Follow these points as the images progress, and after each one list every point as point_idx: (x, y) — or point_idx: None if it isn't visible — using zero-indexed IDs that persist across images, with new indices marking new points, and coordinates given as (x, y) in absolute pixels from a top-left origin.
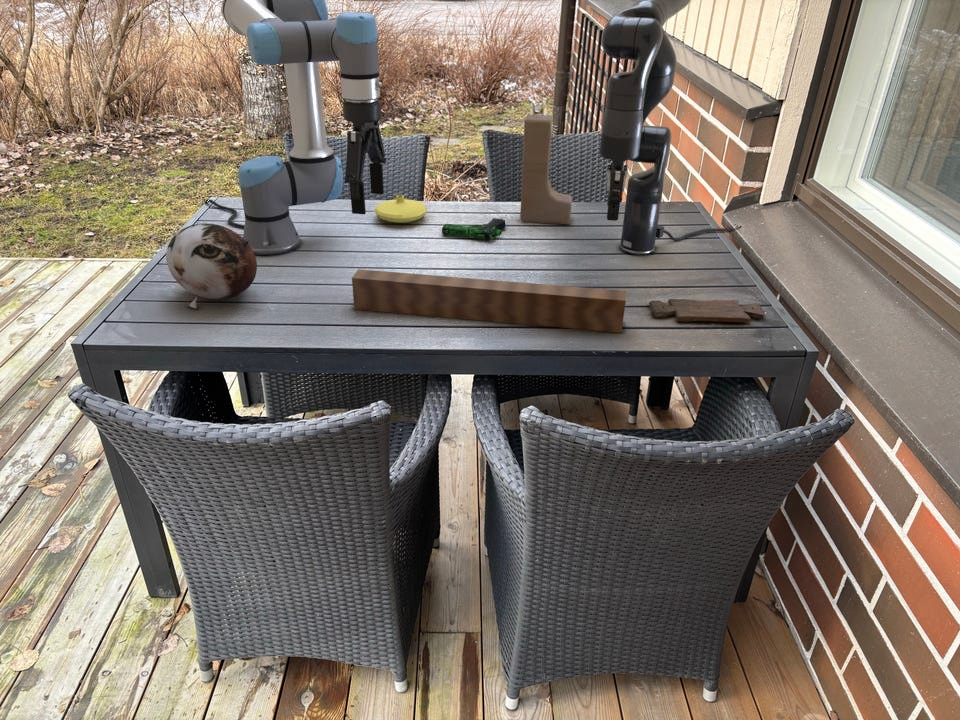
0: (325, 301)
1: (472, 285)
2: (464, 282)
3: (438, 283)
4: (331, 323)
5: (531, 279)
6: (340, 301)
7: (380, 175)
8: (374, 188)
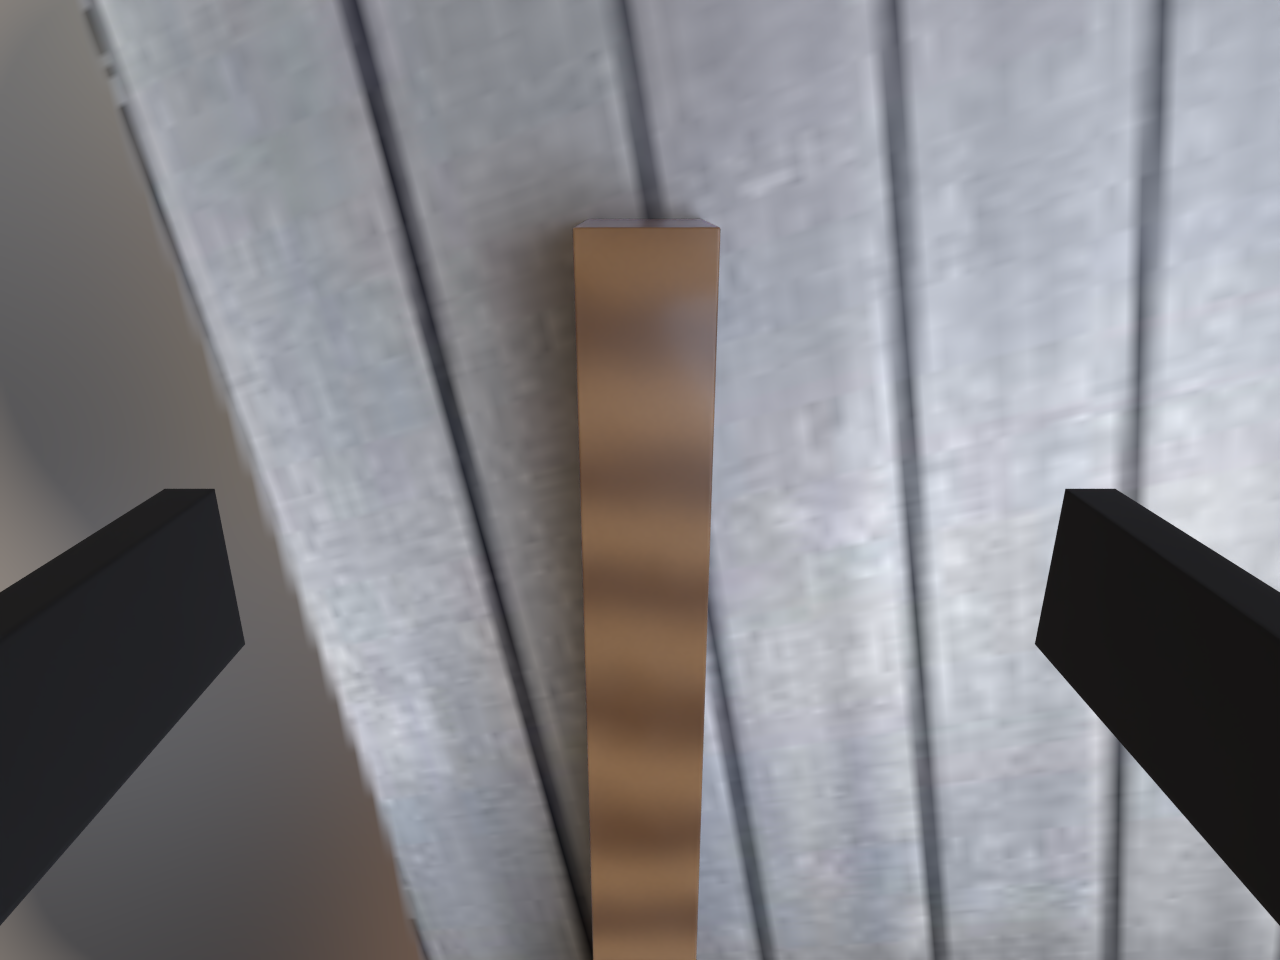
0: (653, 9)
1: (617, 855)
2: (644, 820)
3: (605, 716)
4: (407, 147)
5: (1011, 896)
6: (668, 104)
7: (1213, 819)
8: (1094, 574)
